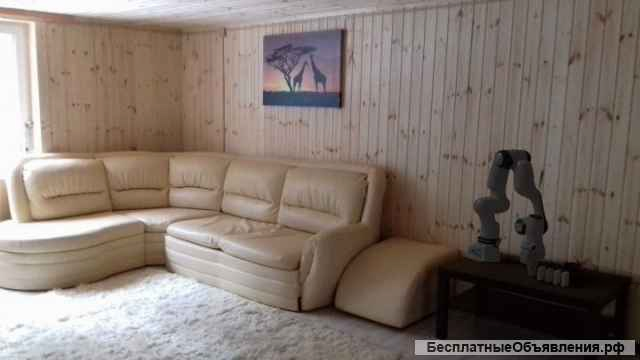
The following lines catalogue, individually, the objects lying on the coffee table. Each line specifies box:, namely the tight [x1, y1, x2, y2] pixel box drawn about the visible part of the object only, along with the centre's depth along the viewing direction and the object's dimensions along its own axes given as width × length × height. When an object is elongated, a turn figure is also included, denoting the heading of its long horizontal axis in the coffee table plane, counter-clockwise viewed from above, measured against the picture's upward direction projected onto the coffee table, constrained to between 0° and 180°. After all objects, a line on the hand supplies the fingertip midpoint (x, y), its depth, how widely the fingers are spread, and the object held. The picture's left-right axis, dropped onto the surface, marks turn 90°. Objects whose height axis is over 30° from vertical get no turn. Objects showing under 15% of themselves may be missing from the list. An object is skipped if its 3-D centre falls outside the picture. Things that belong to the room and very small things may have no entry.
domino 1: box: [528, 261, 537, 276], centre depth 317 cm, size 2×4×7 cm, turn 130°
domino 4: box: [552, 269, 562, 285], centre depth 306 cm, size 2×4×7 cm, turn 130°
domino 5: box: [560, 271, 570, 288], centre depth 303 cm, size 2×4×7 cm, turn 130°
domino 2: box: [536, 265, 546, 281], centre depth 313 cm, size 2×4×7 cm, turn 130°
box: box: [563, 261, 581, 279], centre depth 321 cm, size 6×6×7 cm
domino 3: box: [544, 267, 554, 283], centre depth 310 cm, size 2×4×7 cm, turn 130°
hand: (532, 268), depth 317 cm, fingers closed on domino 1, 4 cm apart
